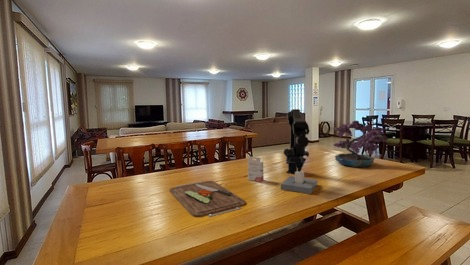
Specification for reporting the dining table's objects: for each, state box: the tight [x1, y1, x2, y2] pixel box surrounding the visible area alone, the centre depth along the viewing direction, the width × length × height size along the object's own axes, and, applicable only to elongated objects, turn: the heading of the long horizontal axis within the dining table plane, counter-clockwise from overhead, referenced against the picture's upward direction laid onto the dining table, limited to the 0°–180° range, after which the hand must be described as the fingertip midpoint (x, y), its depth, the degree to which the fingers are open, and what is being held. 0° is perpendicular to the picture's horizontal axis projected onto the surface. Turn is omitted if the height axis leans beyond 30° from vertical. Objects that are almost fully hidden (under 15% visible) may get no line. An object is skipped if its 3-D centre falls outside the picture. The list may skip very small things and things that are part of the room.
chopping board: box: [168, 180, 247, 218], centre depth 129 cm, size 45×27×3 cm, turn 30°
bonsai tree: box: [333, 120, 388, 168], centre depth 183 cm, size 35×27×33 cm
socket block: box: [280, 175, 318, 195], centre depth 140 cm, size 16×16×3 cm
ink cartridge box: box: [247, 156, 265, 183], centre depth 153 cm, size 9×5×15 cm, turn 62°
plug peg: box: [294, 170, 305, 184], centre depth 140 cm, size 4×4×8 cm
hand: (299, 171), depth 140 cm, fingers closed
